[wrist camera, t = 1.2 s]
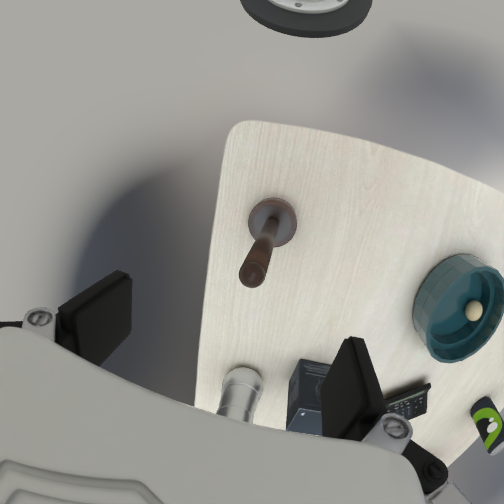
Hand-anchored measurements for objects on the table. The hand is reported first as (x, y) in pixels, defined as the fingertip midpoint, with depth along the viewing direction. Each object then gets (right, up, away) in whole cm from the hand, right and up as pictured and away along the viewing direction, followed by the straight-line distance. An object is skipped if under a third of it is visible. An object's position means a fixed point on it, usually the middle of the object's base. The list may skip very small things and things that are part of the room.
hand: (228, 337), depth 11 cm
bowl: (+32, -4, +22) cm, 39 cm away
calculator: (+30, -25, +29) cm, 49 cm away
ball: (+35, -6, +20) cm, 41 cm away
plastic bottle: (0, -17, +31) cm, 36 cm away
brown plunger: (+4, +7, +23) cm, 25 cm away
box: (+11, -16, +29) cm, 35 cm away
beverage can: (+55, -33, +28) cm, 69 cm away
